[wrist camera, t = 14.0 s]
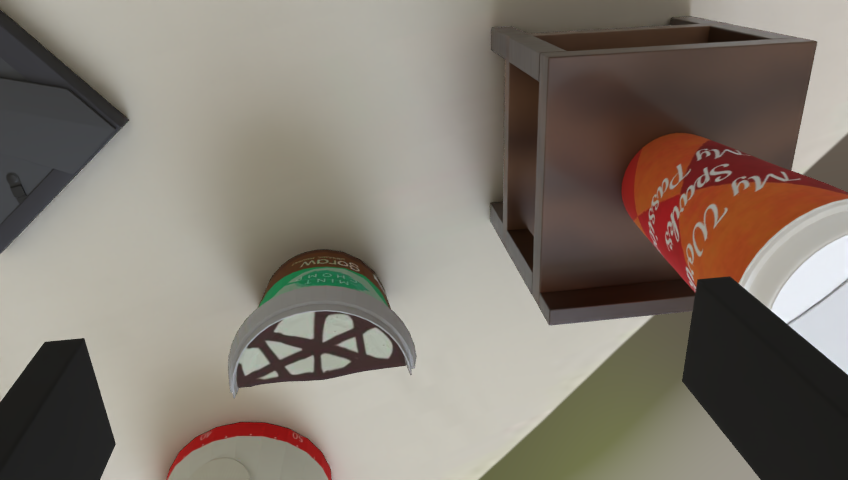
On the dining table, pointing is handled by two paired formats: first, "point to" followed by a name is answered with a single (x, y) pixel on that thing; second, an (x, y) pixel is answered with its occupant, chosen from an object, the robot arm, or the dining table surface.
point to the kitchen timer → (250, 455)
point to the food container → (319, 325)
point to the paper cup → (748, 230)
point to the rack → (626, 147)
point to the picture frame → (43, 128)
